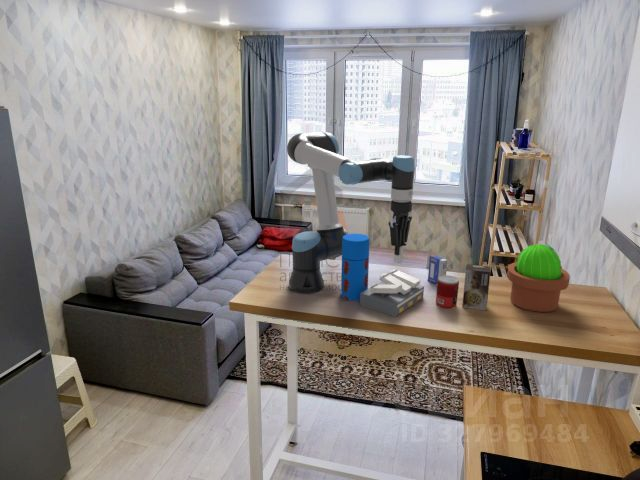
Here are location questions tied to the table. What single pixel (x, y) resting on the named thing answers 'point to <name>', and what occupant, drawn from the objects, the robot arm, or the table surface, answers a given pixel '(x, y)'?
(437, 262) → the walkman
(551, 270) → the potted cactus
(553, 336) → the table surface
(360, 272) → the thermos
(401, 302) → the switch unit
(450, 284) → the canned food
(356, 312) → the table surface
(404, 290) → the rocker
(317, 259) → the robot arm
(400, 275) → the rocker
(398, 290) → the rocker
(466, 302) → the coffee box
